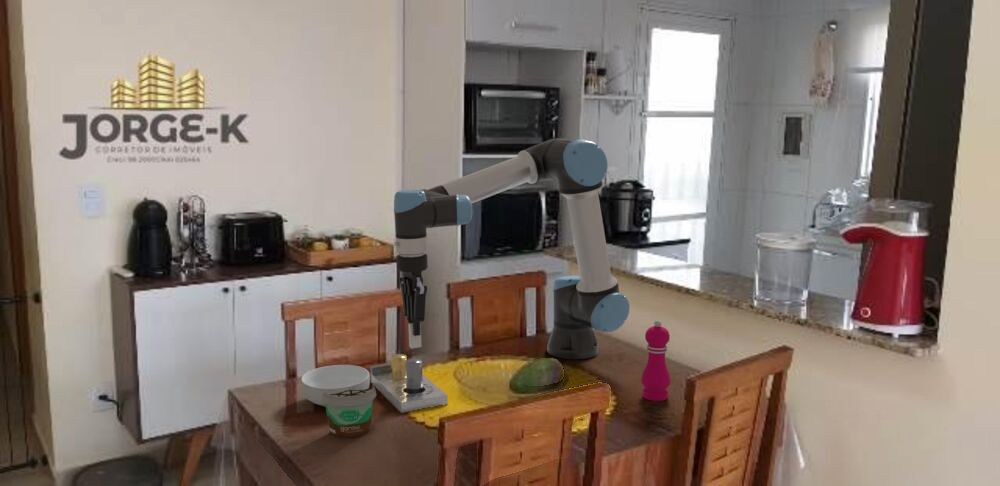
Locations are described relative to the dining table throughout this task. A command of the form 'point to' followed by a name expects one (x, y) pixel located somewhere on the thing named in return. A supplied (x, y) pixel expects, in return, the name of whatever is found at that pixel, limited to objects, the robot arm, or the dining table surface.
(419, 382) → the steel bushing
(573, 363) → the dining table surface
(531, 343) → the dining table surface
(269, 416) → the dining table surface
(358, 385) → the cereal bowl
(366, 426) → the food container
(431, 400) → the plate
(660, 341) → the pepper mill
